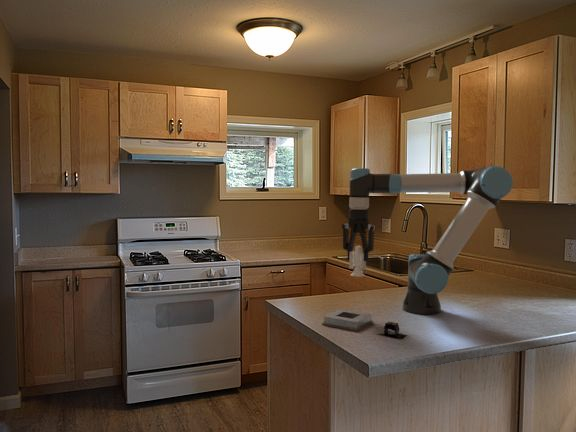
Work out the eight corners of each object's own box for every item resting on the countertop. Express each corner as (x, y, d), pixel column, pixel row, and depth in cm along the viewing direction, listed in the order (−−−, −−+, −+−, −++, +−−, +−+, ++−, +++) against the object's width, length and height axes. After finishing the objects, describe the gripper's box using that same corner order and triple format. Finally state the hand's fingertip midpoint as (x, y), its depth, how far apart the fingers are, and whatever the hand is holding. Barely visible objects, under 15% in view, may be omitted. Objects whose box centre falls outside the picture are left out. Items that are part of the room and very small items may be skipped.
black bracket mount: (370, 335, 171) (370, 322, 171) (379, 330, 177) (379, 317, 176) (404, 342, 164) (405, 328, 163) (412, 337, 170) (413, 324, 169)
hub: (373, 322, 185) (373, 314, 185) (357, 331, 173) (357, 322, 173) (339, 316, 193) (339, 308, 192) (322, 324, 181) (322, 316, 181)
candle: (366, 275, 194) (367, 244, 193) (362, 277, 189) (362, 246, 188) (353, 273, 196) (353, 243, 196) (348, 275, 192) (349, 245, 191)
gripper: (384, 209, 190) (382, 269, 191) (343, 207, 199) (341, 265, 201) (376, 209, 183) (374, 272, 185) (334, 207, 193) (333, 267, 194)
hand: (357, 268), depth 193 cm, fingers closed on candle, 4 cm apart
